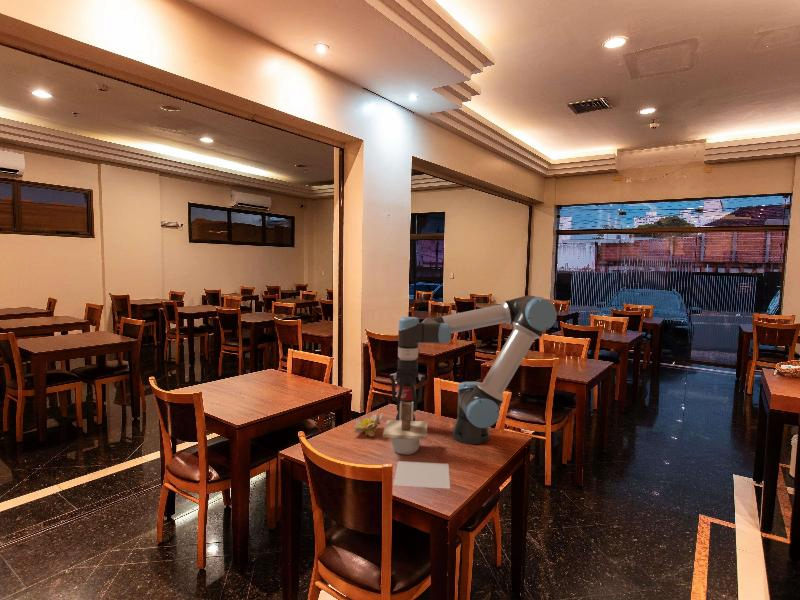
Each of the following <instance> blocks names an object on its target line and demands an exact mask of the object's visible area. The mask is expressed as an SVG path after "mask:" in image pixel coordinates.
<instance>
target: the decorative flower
mask: <svg viewBox="0 0 800 600" xmlns="http://www.w3.org/2000/svg"><path fill="white" fill-rule="evenodd" d="M382 418H383V412H381V413H380V412H379V413H378V415H377V414H376V413H373V414H371V415H370V417H365V418H361V419H354V422H355V425H354V426H353V428H355V430H354V431H353V432H352V433H353V434H354V433H355V434H356V433H362V432H364V434H365V435H364V437H366V436H367V435H368V436H369V437H374V436H375V432H376V431H377V428H378V427H379V425H381V422H380V421H381V420H382Z"/></svg>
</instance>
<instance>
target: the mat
mask: <svg viewBox="0 0 800 600" xmlns="http://www.w3.org/2000/svg"><path fill="white" fill-rule="evenodd" d="M449 465H450V463H441V462H440V463H439V462H438V463H437V462H436V463H435V462H419V461H402V460H398V461H397V464H396V470H395V474H394V475H395V476H394V480H393V486H394V487H395V486H399V487H413V488H414V487H416V488H427V489H428V488H430V489H431V488H432V489H447V490H448V489H449V490H450V489H451V483H450V482H451V481H450V480H451V479H450V467H449Z"/></svg>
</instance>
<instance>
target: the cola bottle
mask: <svg viewBox="0 0 800 600" xmlns="http://www.w3.org/2000/svg"><path fill="white" fill-rule="evenodd" d="M400 384H401V381H400V379H399V378H398V377H397V378H396V397H397V398H398V393H399V388H400ZM414 386H415V392H416V393H417V391H416V389H417V387H416V386H417V378H416V379H415V381H414ZM400 401H402V404H403V402H411V403H412V402H413V397H412V391H411V386H410V383H404V386H403V390H402V395H401V399H400ZM396 413H397V414H396V417H395V420H399V414H400V411H397V412H396ZM400 421H402V419H401V420H400ZM410 421H411V420H410ZM413 421H416V416H415V411H413Z"/></svg>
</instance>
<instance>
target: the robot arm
mask: <svg viewBox="0 0 800 600" xmlns="http://www.w3.org/2000/svg"><path fill="white" fill-rule="evenodd" d="M557 315H558V314H557V310H556V307H555V305H554V303H552V301H551V300H548V299H546V298H544V297H543V296H542V297H541V296H535V295H523V296H519V297H516V298H513V299H508V300H504V301H502V303H501V304H497V305H492V306H487V307H486V306H485V307H481V308H477V309H473V310H472V309H471V310H468V311H462V312H457V313H452V314H448V315H443V316H438V317H427V318H425V319H424V320H423V321H421V322H420V320H419V319H420V318H419V317H415V316H403V317H400V318H399V320H398V329H397V330H398V332H397V333H398V334H397V335H398V340H397V342H398V343H397V344H398V345H397V357H398V358H397V370H396V372H395V373H390V375H389V379H390V381H391V382H390V383H391V399H392V402H396V411H397V412H398V411H400V414H399V420H401V419H402V401H400V399H401V395H402V390H403V386H404V383H410V386H411V391H412V397H413V402H412V403H411V421H413V411H414V413H416V412H417V409H418V408H417V406H418V405H417V404H418V403H422V399H423V398H422V397H423V387H424V385H423V384H424V381H425V380H426V376H425V374H421V373H420V372H419V369H418V368H419V359H418V358H419V343H420V344H423V343H424V344H440V345H441V344H449V343H450V342H451V338H452V334H455V333H460V332H465V331H470V330H475V329H480V328H484V327H489V326H490V327H491V326H494V325H495V326H496V325H499V324H500V325H501V324H507V325H513V329H512V331H511V333H510V334H509V336H508V338H507V340H506V341H505V343H504V345H503V346H502V349H500V351H499V353H498V355H497V356H496V358H495V360H494V361H493V363H492V365H491V367H490V369H489V371H487V373H486V375H485V377H484V378H483V381H482V382H481V381H480V382H479V381H462V382H460V383H458V387H457V418H456V421H455V424H454V425H453V426H454V427H453V429H452V438H453V439H454V440H456V441H457V442H459V443H464V444H467V445H468V444H469V445H480V444H486V443H487V442H489V441H490V435H491V434H490V430H489V428H490V427H492V426H494V425H495V424H496V423H497V421H498V420H499V417H500V408H501V406H502V405H503V403H504V401H505V400H504V396H503V394H504V392H505V390H506V389H507V387H508V385H509V383H511V380H512V379H513V377H514V375H515V373H516V372H517V371H518V368H519V367H520V365H521V363H522V362H523V360H524V358H525V357H526V355H527V353H528V352H529V349H530V348H531V346H533V343H534V341H535V340H537V339H540V338H542V336H543V334H544V333H545V331H547V330H549V329H550V328H552V327H553V326H554V324H555V323H556V321H557ZM398 378H399V379H400V381H401V384H400V388H399V393H398V398H397V387H396V380H397V379H398ZM417 378H418V380H419V387H418V396H417V391H416V392H415V386H414V381H415V379H416V380H417Z"/></svg>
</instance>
